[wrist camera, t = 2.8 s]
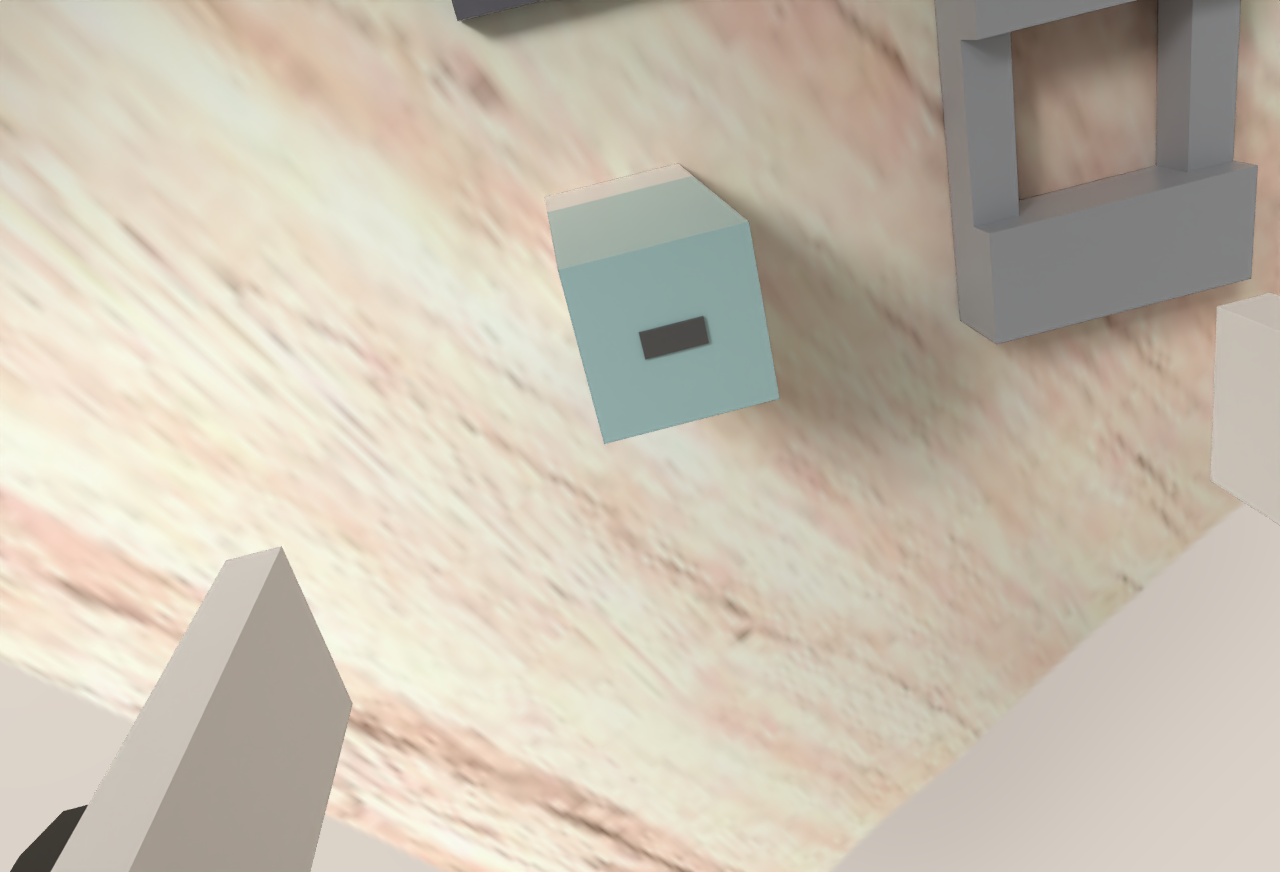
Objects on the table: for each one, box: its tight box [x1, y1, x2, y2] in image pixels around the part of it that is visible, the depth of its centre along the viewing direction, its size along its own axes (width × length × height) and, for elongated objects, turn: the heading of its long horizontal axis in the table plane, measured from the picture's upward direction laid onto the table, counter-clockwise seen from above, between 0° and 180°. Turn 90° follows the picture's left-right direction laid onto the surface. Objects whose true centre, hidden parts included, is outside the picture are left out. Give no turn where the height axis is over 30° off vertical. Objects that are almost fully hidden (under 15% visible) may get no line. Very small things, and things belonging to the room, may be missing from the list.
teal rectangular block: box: [545, 163, 780, 444], centre depth 24 cm, size 4×4×9 cm
